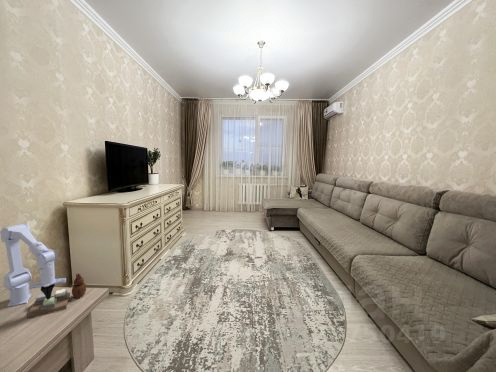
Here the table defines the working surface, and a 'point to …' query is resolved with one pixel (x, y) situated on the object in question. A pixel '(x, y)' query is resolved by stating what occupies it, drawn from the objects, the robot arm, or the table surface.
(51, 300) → the green button
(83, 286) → the wooden figurine
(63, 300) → the console
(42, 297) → the grey button
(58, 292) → the white button
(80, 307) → the table surface
